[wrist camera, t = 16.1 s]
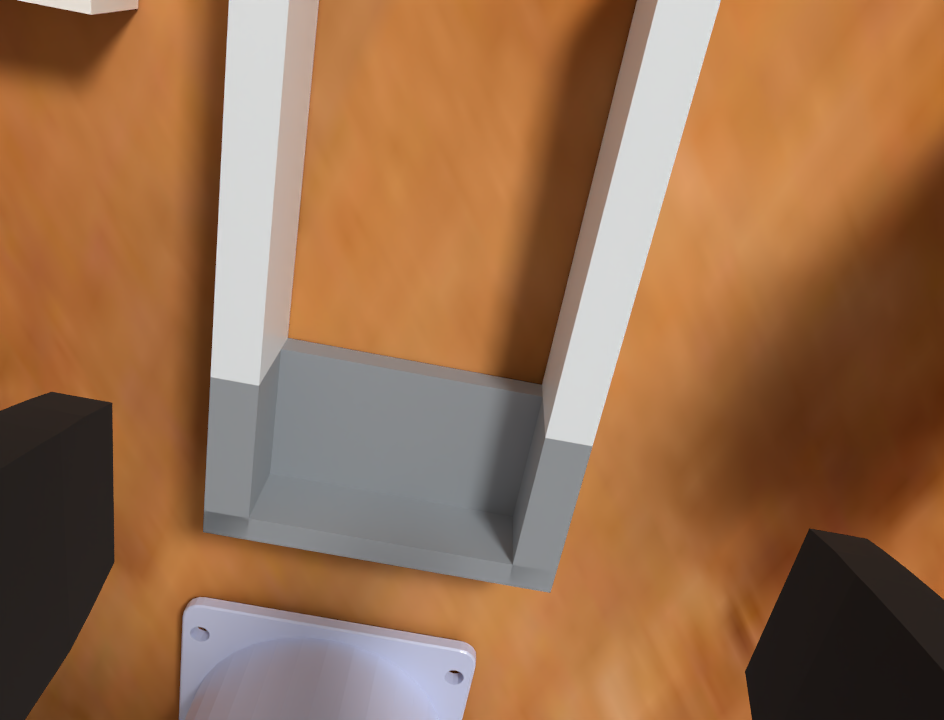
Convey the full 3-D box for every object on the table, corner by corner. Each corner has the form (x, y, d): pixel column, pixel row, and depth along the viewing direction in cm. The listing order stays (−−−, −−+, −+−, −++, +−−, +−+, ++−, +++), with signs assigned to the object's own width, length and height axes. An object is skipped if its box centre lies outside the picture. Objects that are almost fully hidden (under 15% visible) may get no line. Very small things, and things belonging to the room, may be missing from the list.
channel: (583, 392, 20) (592, 446, 17) (244, 330, 19) (210, 377, 17) (705, -53, 15) (737, -55, 13) (276, -141, 15) (236, -158, 13)
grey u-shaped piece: (546, 528, 21) (550, 592, 19) (235, 472, 21) (202, 531, 19) (583, 392, 20) (592, 446, 17) (244, 330, 19) (210, 377, 17)
